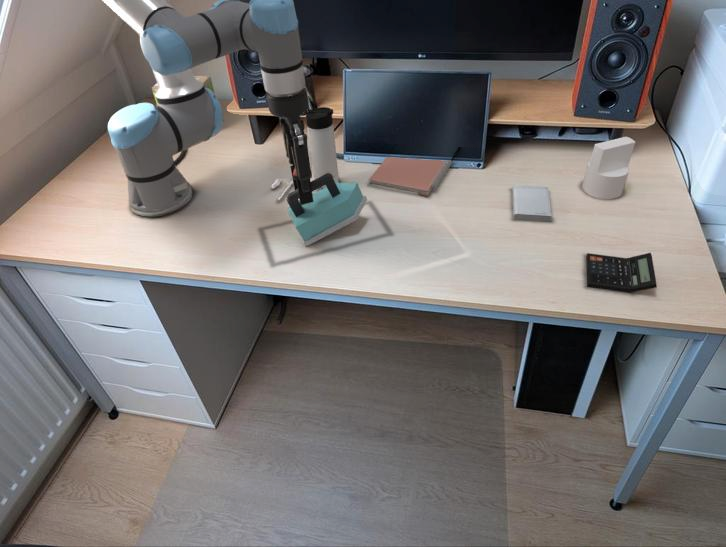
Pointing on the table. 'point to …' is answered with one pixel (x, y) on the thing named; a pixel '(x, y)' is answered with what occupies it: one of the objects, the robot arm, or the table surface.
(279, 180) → the picture light
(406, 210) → the table surface
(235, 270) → the table surface
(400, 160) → the notebook
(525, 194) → the hard drive
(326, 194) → the iron
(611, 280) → the calculator
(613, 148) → the cylinder with rectangular tab
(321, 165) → the travel mug
